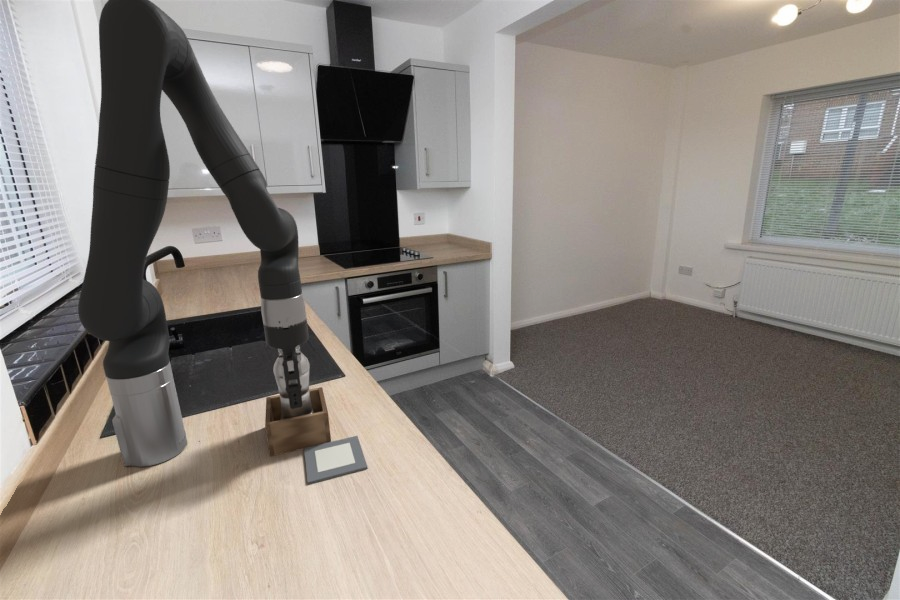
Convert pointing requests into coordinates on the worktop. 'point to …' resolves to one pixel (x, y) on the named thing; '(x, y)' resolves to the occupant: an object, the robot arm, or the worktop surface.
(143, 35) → the robot arm
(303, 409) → the plastic bottle
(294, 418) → the crate
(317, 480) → the mat
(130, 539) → the worktop surface
